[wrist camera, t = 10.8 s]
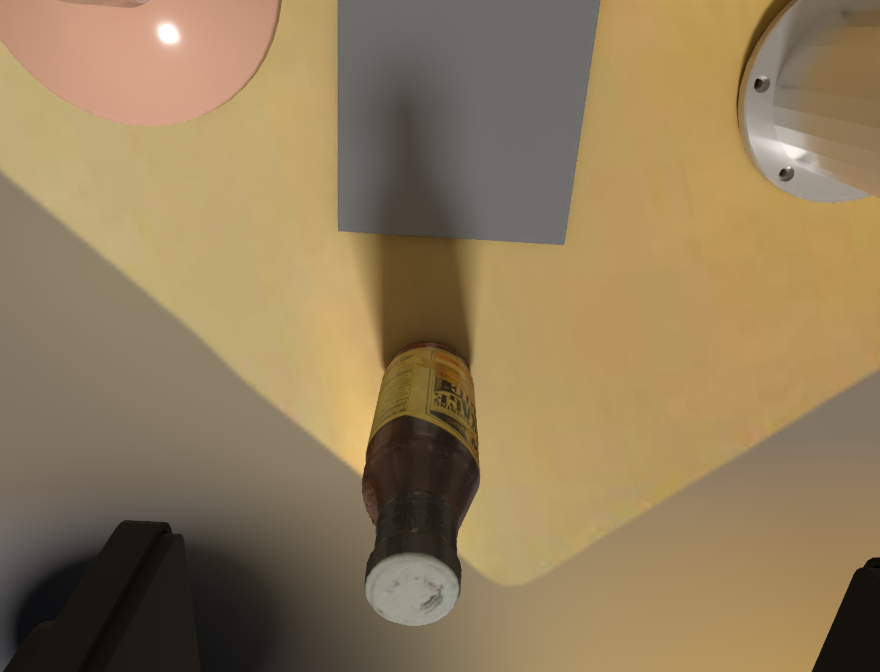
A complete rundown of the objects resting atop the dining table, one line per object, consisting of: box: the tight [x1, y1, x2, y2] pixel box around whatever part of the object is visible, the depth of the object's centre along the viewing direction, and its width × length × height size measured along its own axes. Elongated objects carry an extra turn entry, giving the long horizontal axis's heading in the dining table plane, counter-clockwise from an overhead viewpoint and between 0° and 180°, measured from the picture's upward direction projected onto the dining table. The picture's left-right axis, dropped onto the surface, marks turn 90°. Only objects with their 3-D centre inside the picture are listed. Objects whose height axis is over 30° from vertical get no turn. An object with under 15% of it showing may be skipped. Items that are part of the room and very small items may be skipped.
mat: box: [338, 0, 600, 245], centre depth 38 cm, size 14×14×1 cm
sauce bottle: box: [362, 343, 480, 626], centre depth 36 cm, size 7×6×20 cm
